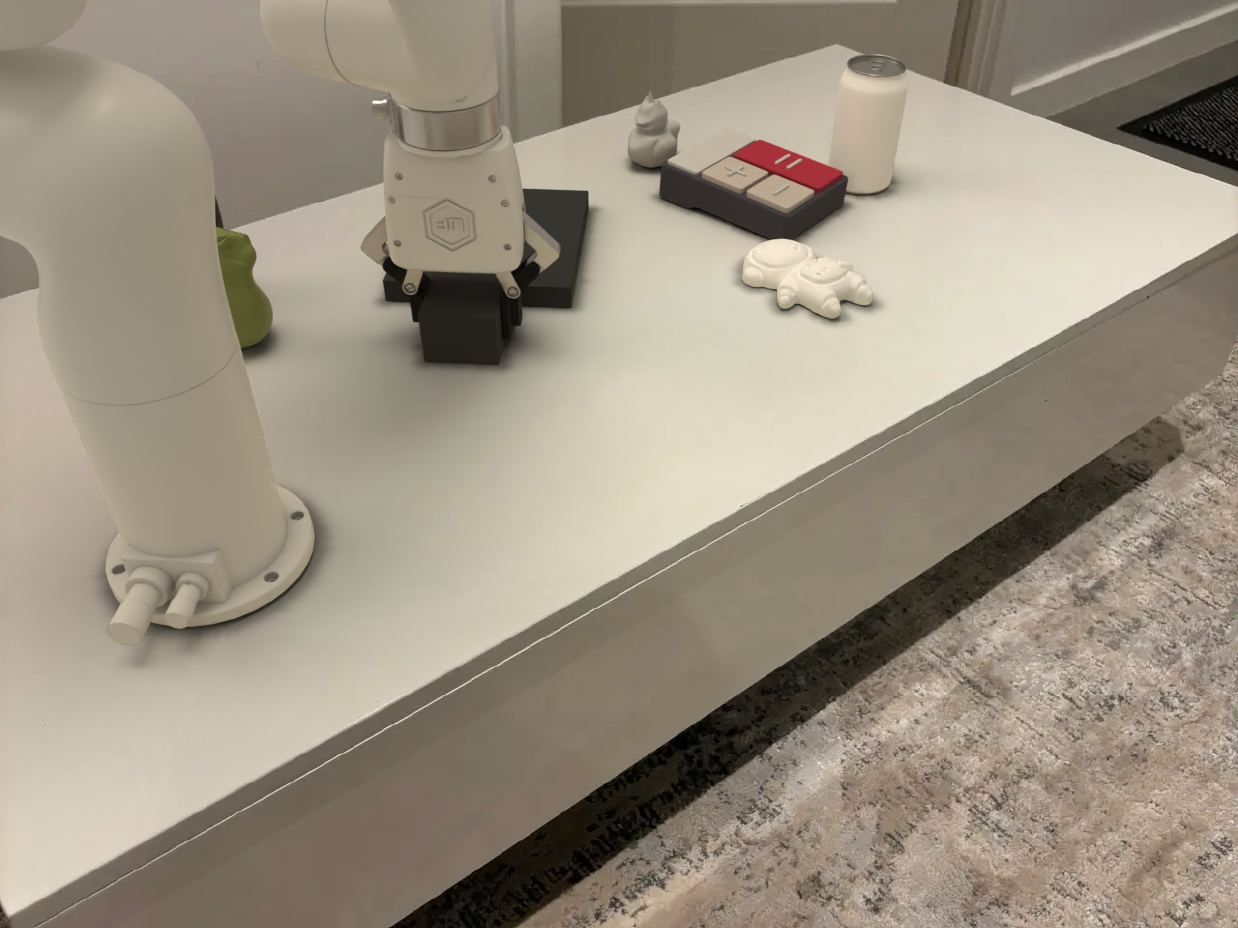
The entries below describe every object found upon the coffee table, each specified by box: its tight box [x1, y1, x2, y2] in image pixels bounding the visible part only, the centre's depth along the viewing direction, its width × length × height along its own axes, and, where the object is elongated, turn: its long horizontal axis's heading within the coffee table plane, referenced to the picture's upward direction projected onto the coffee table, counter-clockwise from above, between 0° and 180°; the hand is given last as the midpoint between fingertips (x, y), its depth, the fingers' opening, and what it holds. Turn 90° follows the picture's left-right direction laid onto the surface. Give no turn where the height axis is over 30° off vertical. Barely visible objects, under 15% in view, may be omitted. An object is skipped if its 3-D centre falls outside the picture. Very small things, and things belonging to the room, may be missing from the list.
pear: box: [216, 227, 274, 349], centre depth 85 cm, size 6×5×10 cm
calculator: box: [658, 128, 848, 240], centre depth 106 cm, size 11×4×15 cm
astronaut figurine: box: [741, 239, 874, 320], centre depth 94 cm, size 9×12×3 cm
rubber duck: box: [627, 90, 681, 169], centre depth 111 cm, size 5×7×8 cm
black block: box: [418, 272, 506, 366], centre depth 89 cm, size 12×6×4 cm, turn 177°
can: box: [827, 53, 909, 196], centre depth 107 cm, size 6×6×12 cm
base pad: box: [382, 187, 590, 309], centre depth 99 cm, size 18×16×2 cm
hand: (468, 328), depth 88 cm, fingers closed on black block, 6 cm apart
